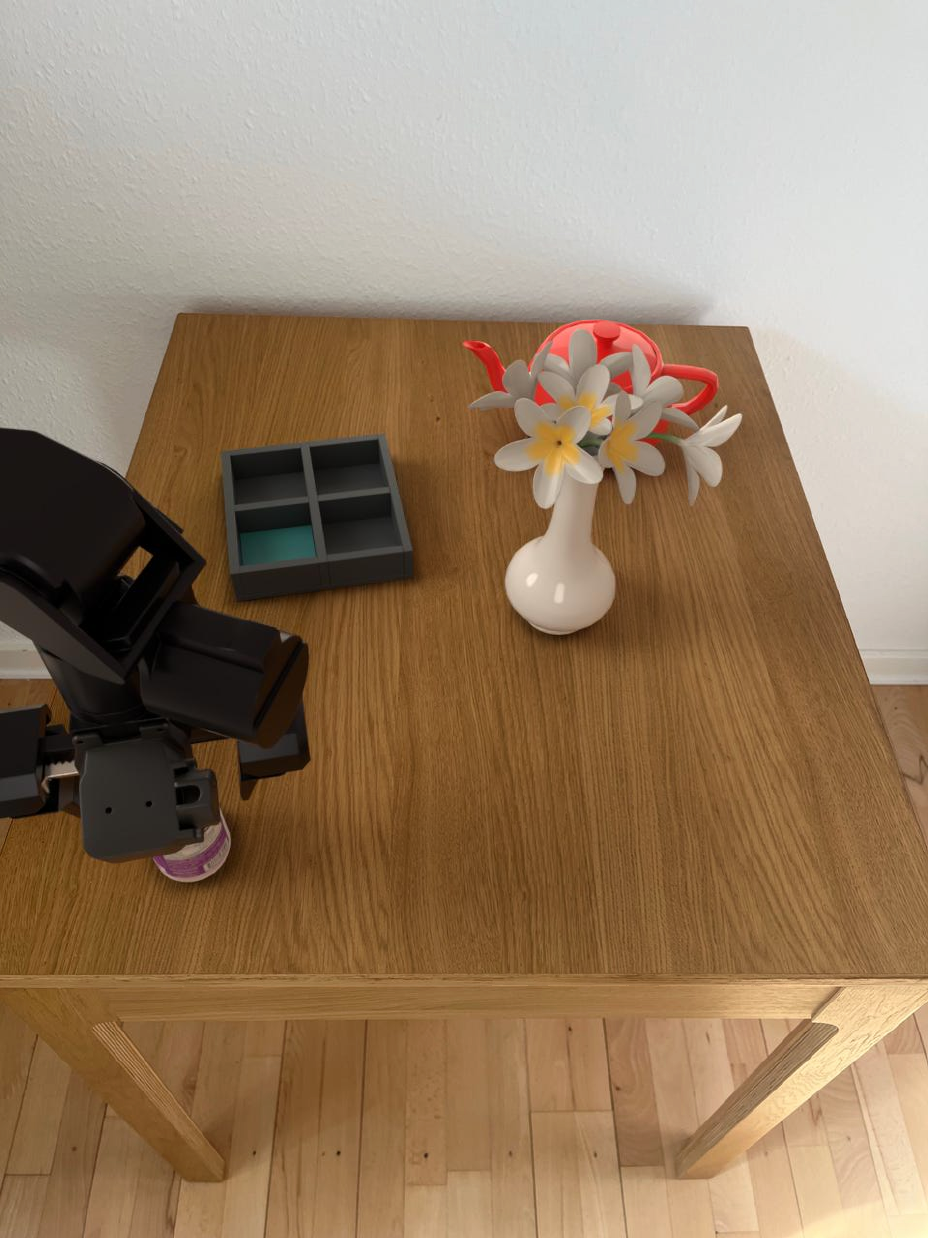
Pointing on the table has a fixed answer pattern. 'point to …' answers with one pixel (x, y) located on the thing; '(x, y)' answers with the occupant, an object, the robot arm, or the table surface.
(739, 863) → the table surface
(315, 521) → the compartment tray
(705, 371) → the teapot
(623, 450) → the flower vase
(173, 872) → the pill bottle
